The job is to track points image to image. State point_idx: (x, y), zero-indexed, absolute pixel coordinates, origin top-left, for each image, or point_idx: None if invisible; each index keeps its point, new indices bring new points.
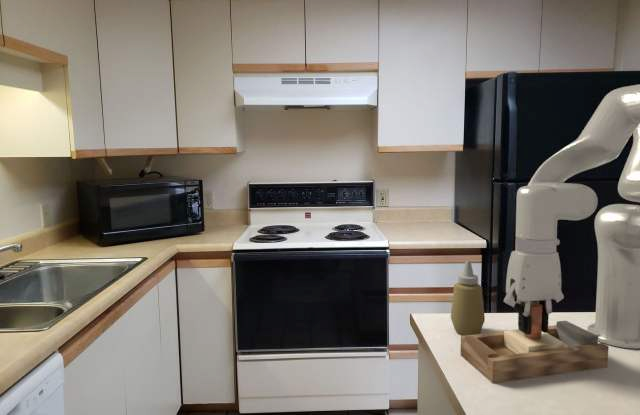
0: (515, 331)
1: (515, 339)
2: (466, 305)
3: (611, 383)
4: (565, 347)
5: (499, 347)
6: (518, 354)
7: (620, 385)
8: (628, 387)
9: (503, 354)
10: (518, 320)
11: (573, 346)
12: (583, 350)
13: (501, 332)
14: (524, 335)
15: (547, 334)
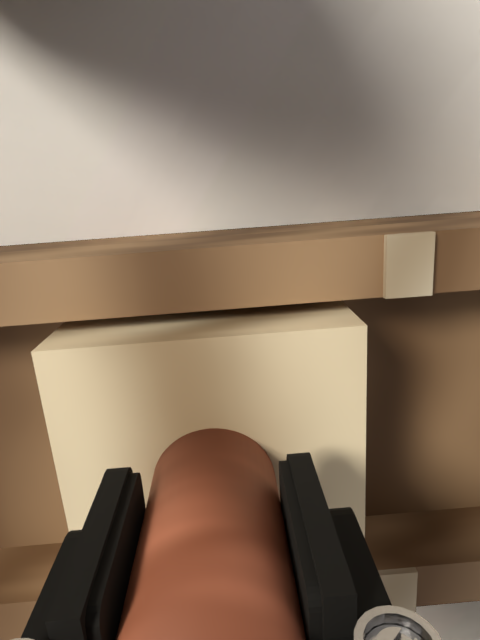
0: (129, 375)
1: (63, 486)
2: None
3: (420, 608)
4: (454, 400)
5: (32, 333)
6: (10, 610)
7: (441, 623)
8: (457, 637)
9: (16, 424)
10: (48, 581)
11: (412, 580)
12: (441, 598)
13: (50, 281)
14: (157, 462)
15: (351, 467)
